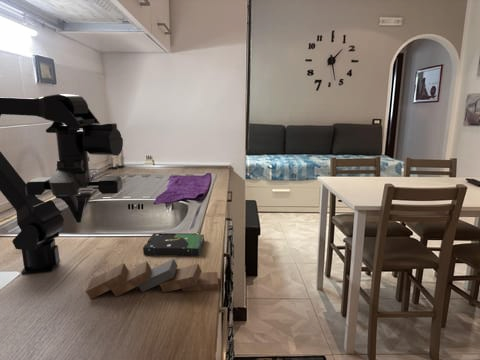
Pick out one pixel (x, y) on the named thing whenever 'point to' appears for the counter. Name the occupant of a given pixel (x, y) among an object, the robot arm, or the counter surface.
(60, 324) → the counter surface
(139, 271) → the domino
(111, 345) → the counter surface
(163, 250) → the disk drive
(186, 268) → the domino
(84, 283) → the counter surface
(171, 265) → the domino
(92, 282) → the domino
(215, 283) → the domino
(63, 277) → the counter surface
